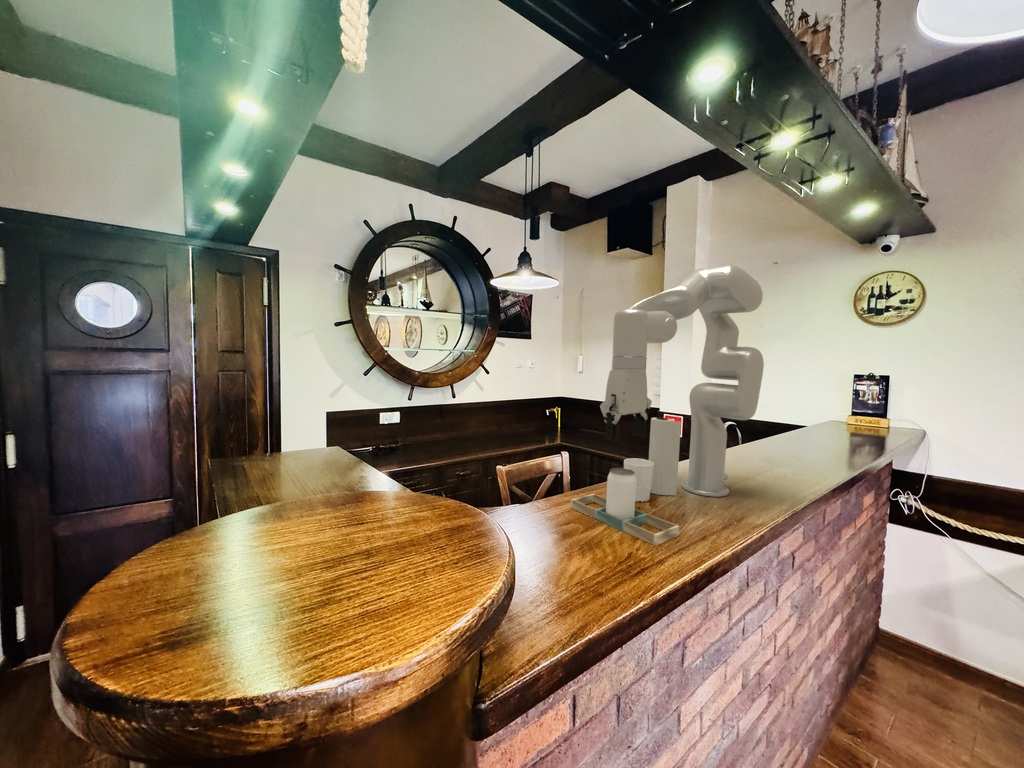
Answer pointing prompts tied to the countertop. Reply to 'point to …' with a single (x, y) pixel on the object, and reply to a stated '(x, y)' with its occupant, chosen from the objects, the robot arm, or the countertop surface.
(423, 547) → the countertop surface
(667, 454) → the paper towel roll
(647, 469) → the white cup
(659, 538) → the slot rack
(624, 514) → the can
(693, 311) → the robot arm
